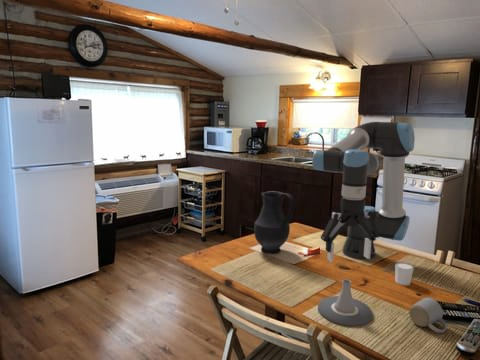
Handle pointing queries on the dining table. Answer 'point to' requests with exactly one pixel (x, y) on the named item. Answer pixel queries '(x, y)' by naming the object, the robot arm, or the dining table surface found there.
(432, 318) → the ceramic mug
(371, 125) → the robot arm
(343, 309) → the flask
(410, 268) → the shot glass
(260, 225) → the pitcher
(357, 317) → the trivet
